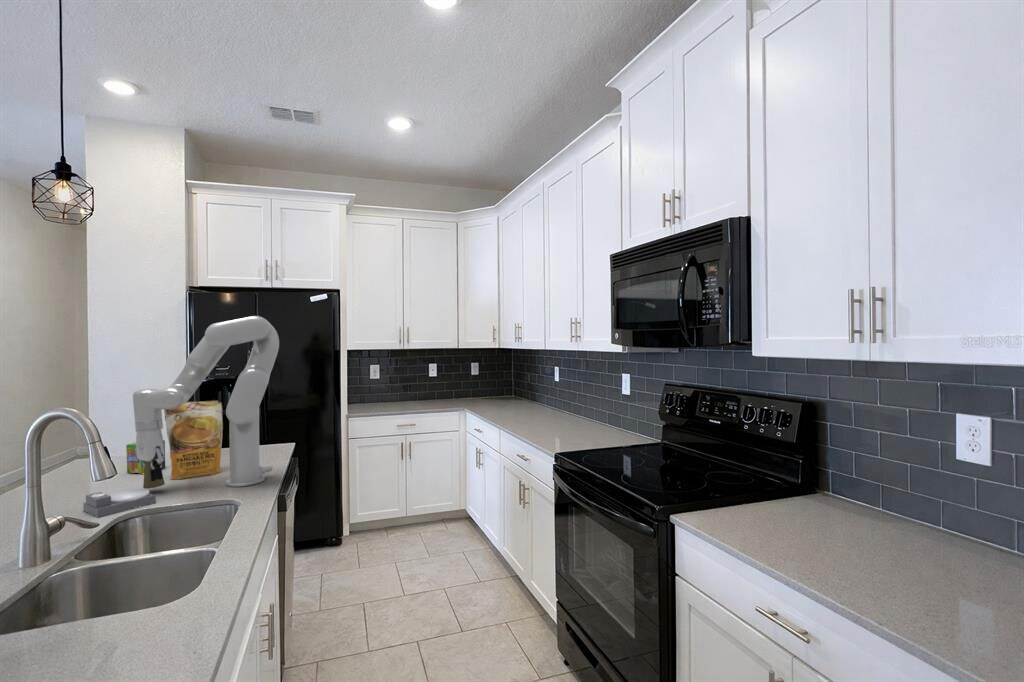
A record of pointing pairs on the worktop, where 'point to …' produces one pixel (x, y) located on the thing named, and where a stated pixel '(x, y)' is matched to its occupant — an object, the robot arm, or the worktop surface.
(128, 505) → the kitchen scale
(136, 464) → the chalk box
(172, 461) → the pancake mix bag
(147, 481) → the cork
